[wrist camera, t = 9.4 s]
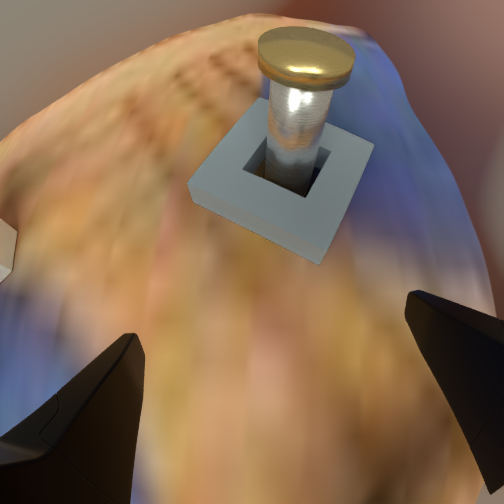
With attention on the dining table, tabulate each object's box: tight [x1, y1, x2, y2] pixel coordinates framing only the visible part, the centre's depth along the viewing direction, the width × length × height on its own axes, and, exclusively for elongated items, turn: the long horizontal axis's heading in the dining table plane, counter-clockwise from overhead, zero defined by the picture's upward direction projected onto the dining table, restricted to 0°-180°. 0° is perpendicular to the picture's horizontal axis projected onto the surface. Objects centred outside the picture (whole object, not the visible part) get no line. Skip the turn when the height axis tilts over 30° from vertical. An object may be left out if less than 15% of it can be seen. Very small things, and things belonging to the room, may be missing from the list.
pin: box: [258, 26, 355, 197], centre depth 21 cm, size 6×6×14 cm
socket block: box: [187, 97, 374, 265], centre depth 26 cm, size 12×12×3 cm
